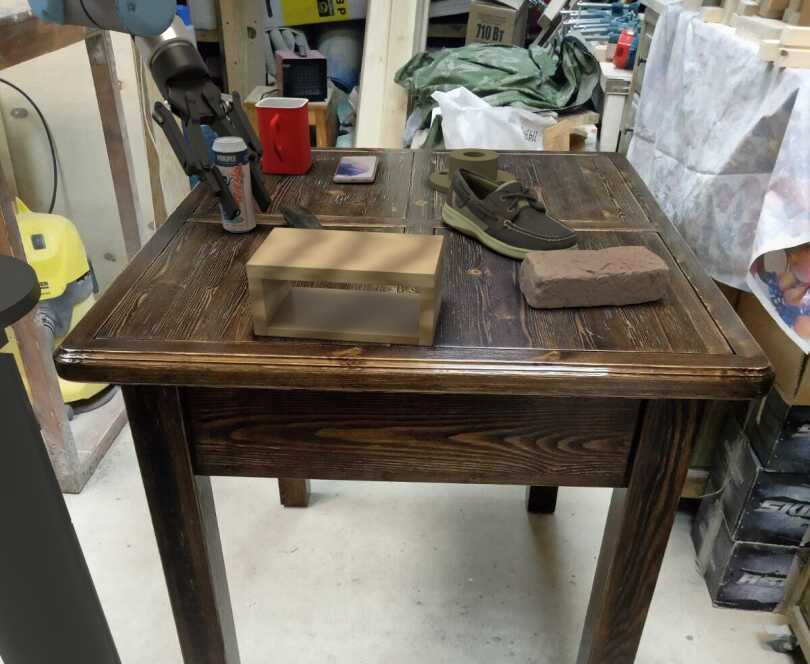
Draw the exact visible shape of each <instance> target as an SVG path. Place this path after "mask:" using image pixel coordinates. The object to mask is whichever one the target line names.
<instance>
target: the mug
mask: <svg viewBox="0 0 810 664" xmlns="http://www.w3.org/2000/svg"><path fill="white" fill-rule="evenodd" d="M309 100H310V99H309V98H303V97H301V98H300V97H273V96H272V97H265V98H262V99H260V101H257V103H255V104H254V107H255V110H256V113H257V114H256V115H257V125H258V133H259V134H258V135H259V141H260V143H261V145H262V146H263V148H264V153H263V156H262V158H261V160H262V171H263V172H264V173H265V174H270V175H271V174H274V175H297V176H298V175H304V174H306V173H307V172H308V170H309V169H310V168H311V167H312V165H313V164H312V150H311V149H312V148H311V137H310V122H309Z"/></svg>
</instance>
